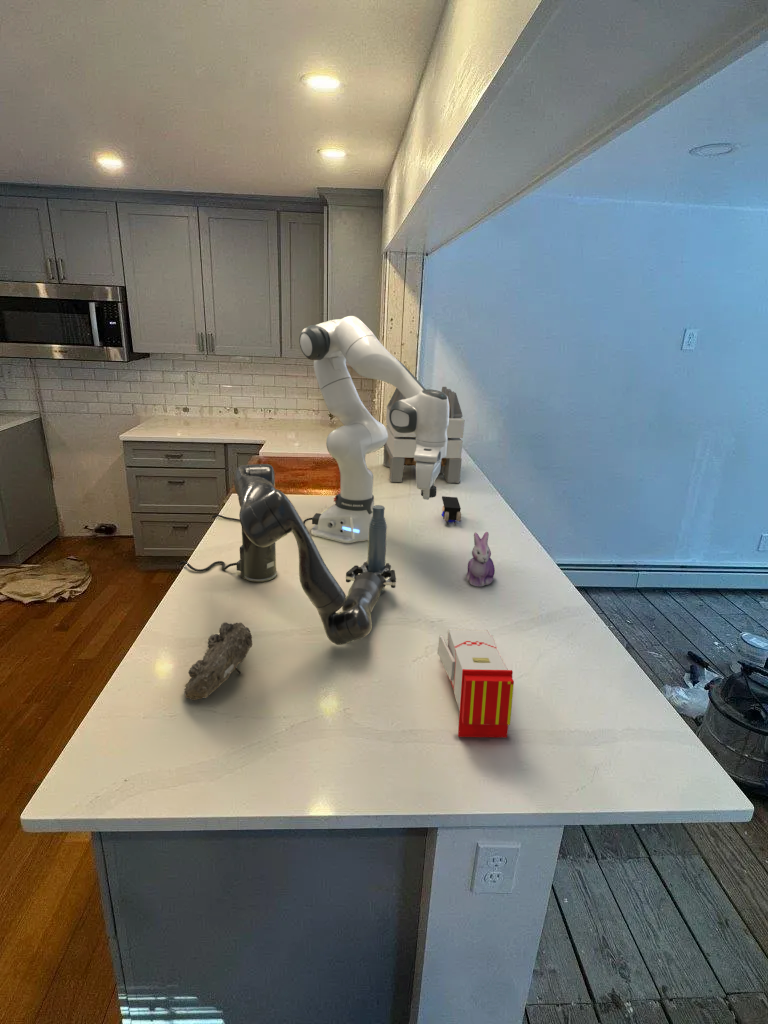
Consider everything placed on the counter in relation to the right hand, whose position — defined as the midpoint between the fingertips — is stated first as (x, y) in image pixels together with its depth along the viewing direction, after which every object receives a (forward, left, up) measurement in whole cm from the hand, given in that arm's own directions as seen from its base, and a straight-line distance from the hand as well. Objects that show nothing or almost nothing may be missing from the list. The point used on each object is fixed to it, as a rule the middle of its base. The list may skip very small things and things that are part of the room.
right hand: (427, 496), depth 164 cm
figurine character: (0, +47, -24) cm, 53 cm away
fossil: (-30, -64, -24) cm, 74 cm away
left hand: (-10, -14, -18) cm, 25 cm away
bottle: (-10, -17, -24) cm, 31 cm away
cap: (0, 0, +2) cm, 2 cm away
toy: (+22, -53, -24) cm, 62 cm away
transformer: (-25, +107, -24) cm, 112 cm away
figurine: (+17, 0, -24) cm, 30 cm away
